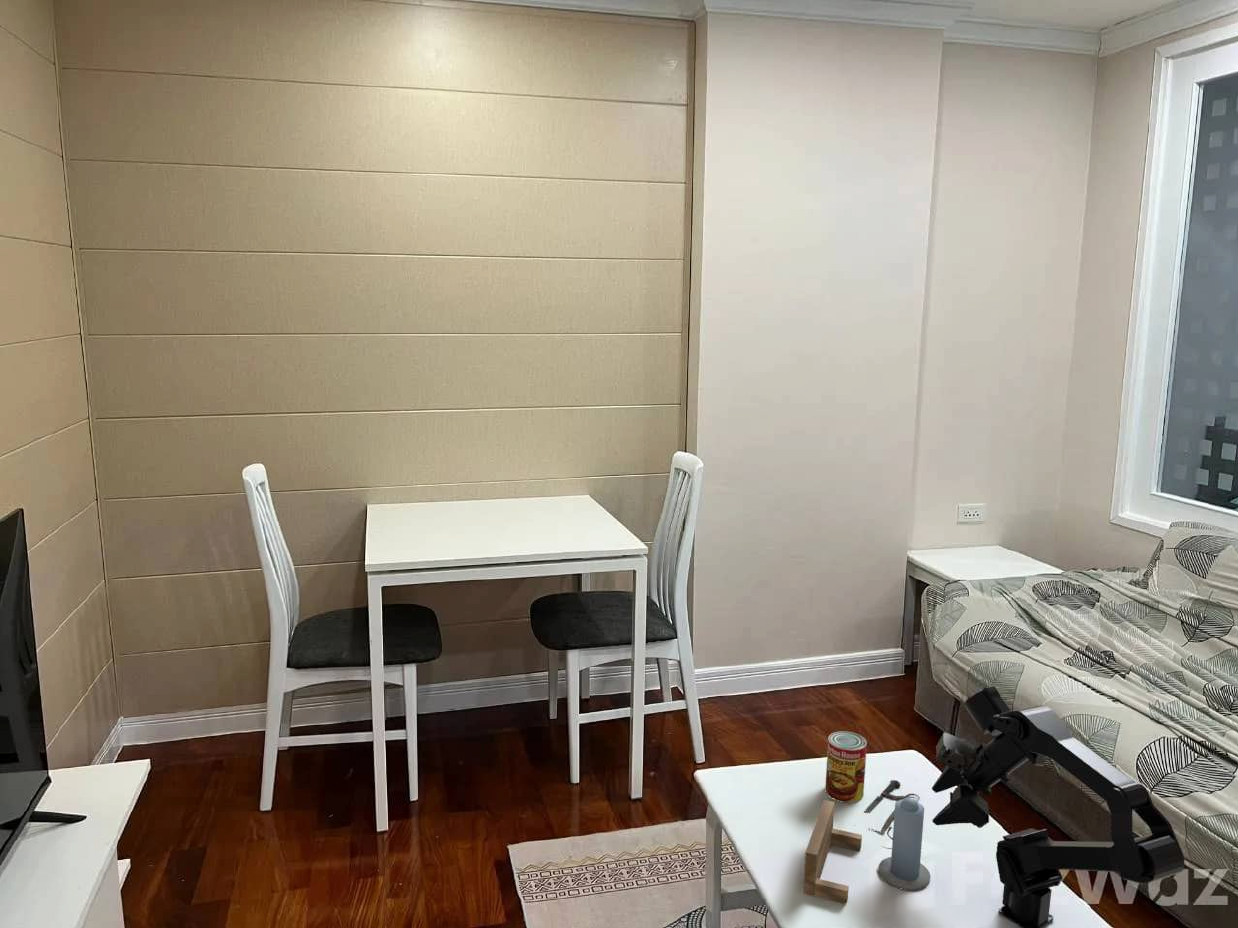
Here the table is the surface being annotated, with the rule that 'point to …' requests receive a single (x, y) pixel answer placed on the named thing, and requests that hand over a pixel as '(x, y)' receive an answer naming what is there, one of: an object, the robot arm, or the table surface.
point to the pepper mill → (907, 839)
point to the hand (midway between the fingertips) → (933, 806)
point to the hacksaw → (886, 793)
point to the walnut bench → (819, 851)
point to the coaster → (899, 883)
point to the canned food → (845, 766)
